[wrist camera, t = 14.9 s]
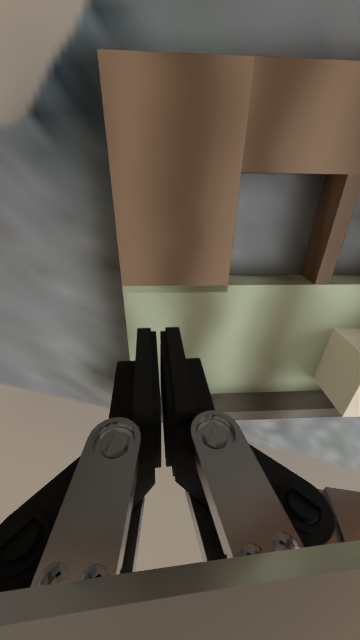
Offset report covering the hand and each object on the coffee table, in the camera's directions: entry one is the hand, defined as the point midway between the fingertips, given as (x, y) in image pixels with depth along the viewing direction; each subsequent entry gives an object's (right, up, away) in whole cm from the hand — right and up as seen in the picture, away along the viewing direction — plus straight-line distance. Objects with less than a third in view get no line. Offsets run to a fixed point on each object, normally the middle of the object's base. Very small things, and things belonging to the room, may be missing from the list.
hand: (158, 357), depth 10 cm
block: (+15, -1, +10) cm, 18 cm away
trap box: (+8, +5, +8) cm, 13 cm away
